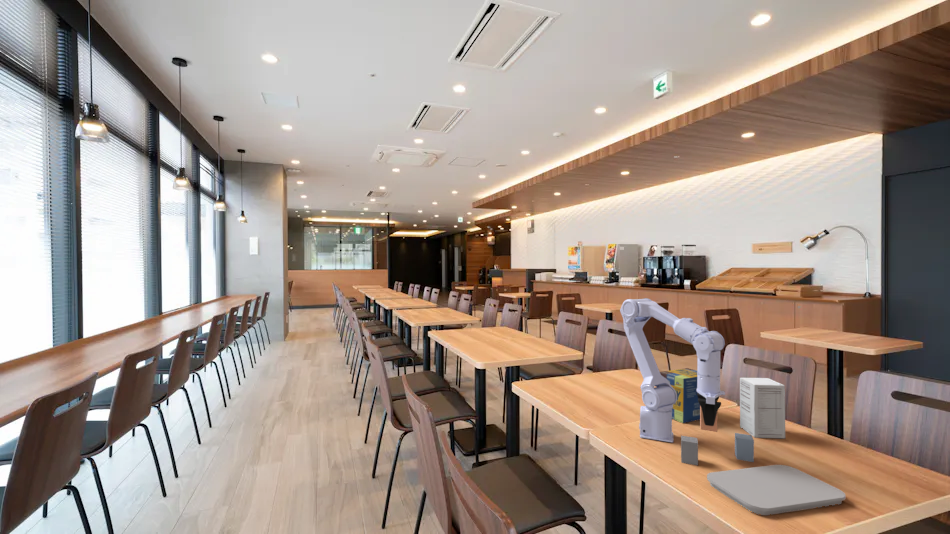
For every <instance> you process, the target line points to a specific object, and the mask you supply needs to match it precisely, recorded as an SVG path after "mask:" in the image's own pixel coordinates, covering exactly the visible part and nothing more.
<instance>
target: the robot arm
mask: <svg viewBox="0 0 950 534" xmlns="http://www.w3.org/2000/svg"><path fill="white" fill-rule="evenodd" d="M619 312H620V314H621V317H622V320H623V329H624V333H625V336H626V338H627V340H628V343H629V346H630V347H631V351H632V353H633V355H634V358H635V360H636V361H635V362H636V364H637V366H638V369H639V371H640V374H641V376H642V379H643V380H642V382H641V385H640V391H641V400H642V402H643V404H644V405H640V410H639V411H640V412H639V423H638V424H639V426H638V429H639V437H640V438H642V439H648V440H655V441H660V442H668V443H674V432H673V419H672V408H673V404H675V403H676V401H677V394H676V391H675V390H674V388H673V387H672V386H671V385H670V383H669V381H668V380H667V379H666V378H664V377H663V376H662V375H661V374H660V372H661V371H660V369H659V367H658V365H657V362H656V360H655V357H654V354H653V352H652V349H651V347H650V345H649V342H648V340H647V337H646V335H645V332H644V330H643V329H644V326H645V325H646V324H647V322H648V321H649V320H650V319H651V318H654V319H656V320H657V321H660V322H661V323H663V324H665V325H667V326H668V327H671V328H672V329H673V332H674V334H675V335H676V336H679V337H680V338H682V339H683V340H685V341H687V343H690V344H691V345H692V346H693V348H694V350H695V351H696V356H697V357H696V358H697V359H696V362H697V363H696V365H697V366H696V367H697V369H696V371H697V389H696V391H697V392H698V393H697V396H698V402H699V404H700V406H701V409H702V412H703V419H704V423H705V425H708V426H714V423H715V418H716V414H717V415H718V411H719V410H720V407H722V402H721V401H719V399H720V396H725V395H726V391H724V390H721V351H722V350H723V349H724V347H725V345H726V343H725V338H724V337H723V335H722V334H721V333H720V332H718V331H716V330H711V331H709V329H708V327H706V326H701V325H699V324H698V323H696V322H694V319H693V318H691V317H682V318H679V317H677V316H676V315H674V314H673V313H671V312H670V311H668V310H667V309H666V308H664V307H662V306H661V305H659V304H658V302H657V301H654V300H652V299H651V298H639V299H638V298H635V299H633V298H629V299H625V300H624V301H623V302H622V304H621V306H620V309H619Z"/></svg>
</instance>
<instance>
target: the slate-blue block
mask: <svg viewBox="0 0 950 534" xmlns="http://www.w3.org/2000/svg"><path fill="white" fill-rule="evenodd" d="M754 452H755V440H754V437H753V436H752V435H751V434H747V433H746V434H745V433H739V432H734V454H735V455H734V456H735V458H736V460H737V461H738V460H740V461H745V462H751V463H754V462H755V459H754V458H755V454H754Z"/></svg>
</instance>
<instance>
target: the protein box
mask: <svg viewBox="0 0 950 534" xmlns="http://www.w3.org/2000/svg"><path fill="white" fill-rule="evenodd" d="M660 374H661V375H662V376H663V377H664V378H666V379H667V380H668V381H669V383H670V385H671V386H672V387H673V388H674V390H675V391H676V394H677V401H676V403H675V404H673V408H672V420H673V419H674V421H677V422H679V423H681V424H686V422H687V423H690V422H694V421H695V420H696V421H700V404H699V402H698V396H697V393H698V392H697V391H696V389H697V369H693V368H692V369H691V368H688V367H686V368H681V369H672V370H671V369H670V370H666V371H660ZM696 421H695V422H696Z"/></svg>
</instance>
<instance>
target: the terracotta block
mask: <svg viewBox="0 0 950 534" xmlns="http://www.w3.org/2000/svg"><path fill="white" fill-rule="evenodd" d="M699 427H700V430H703V431H707V432H708V431H709V432H715V433H718V413H717V414H716V418H715V423H714V426H708V425H705V423H704V419H703V412H702V409H701V406H700V420H699Z"/></svg>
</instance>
